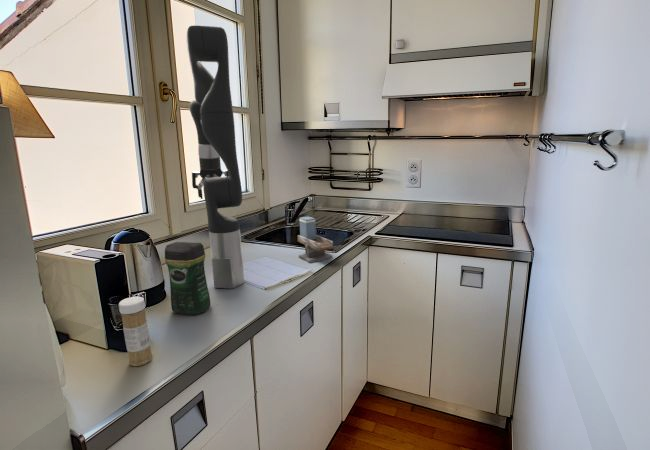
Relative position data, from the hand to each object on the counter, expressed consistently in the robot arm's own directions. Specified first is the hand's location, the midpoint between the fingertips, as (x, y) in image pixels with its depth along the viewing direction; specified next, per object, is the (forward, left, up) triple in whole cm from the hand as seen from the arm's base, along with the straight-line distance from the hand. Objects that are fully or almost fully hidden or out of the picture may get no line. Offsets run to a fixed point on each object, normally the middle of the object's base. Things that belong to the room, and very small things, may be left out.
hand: (213, 197), depth 147 cm
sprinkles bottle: (-75, -15, -23) cm, 79 cm away
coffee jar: (-51, -14, -23) cm, 57 cm away
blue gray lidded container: (-1, -37, -16) cm, 40 cm away
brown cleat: (-5, -40, -22) cm, 46 cm away
